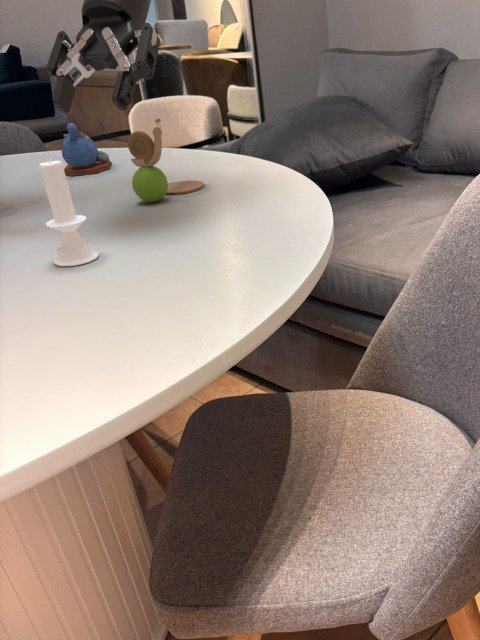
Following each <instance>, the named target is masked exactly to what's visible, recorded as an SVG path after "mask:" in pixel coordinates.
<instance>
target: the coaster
mask: <svg viewBox="0 0 480 640" xmlns="http://www.w3.org/2000/svg"><path fill="white" fill-rule="evenodd" d="M204 188H205V182H203V181H201V180H179V181H173V182H168V189H167V192H166V194H165V196H175V195H176V196H177V195H178V196H179V195H185V194H190V193H194V192H197V191H200V190H202V189H204Z"/></svg>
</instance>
